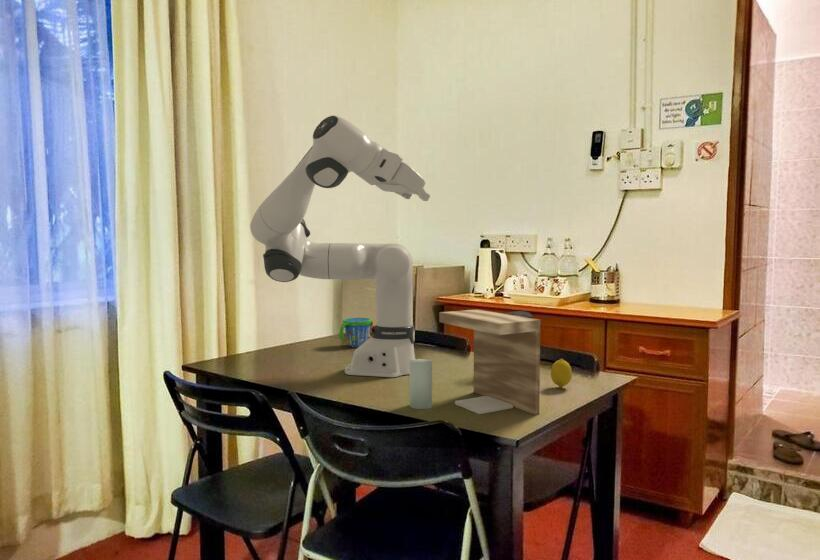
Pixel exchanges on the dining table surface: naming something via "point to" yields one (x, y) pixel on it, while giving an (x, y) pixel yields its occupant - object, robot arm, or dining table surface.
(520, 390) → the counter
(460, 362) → the dining table surface
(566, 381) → the lemon
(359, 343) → the snack cup
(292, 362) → the dining table surface
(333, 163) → the robot arm
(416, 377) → the pale green cylinder
